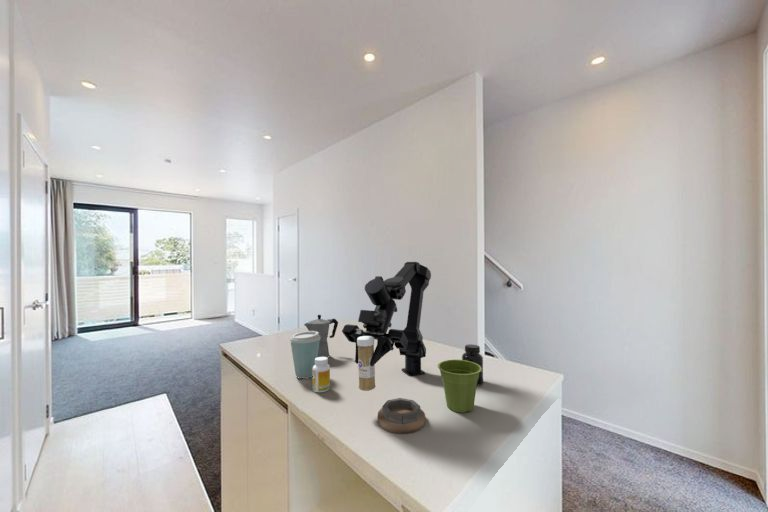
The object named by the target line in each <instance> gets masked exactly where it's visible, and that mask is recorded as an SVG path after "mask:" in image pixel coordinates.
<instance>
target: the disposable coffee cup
mask: <svg viewBox="0 0 768 512" xmlns="http://www.w3.org/2000/svg"><path fill="white" fill-rule="evenodd" d="M320 339H321V338H320V336H319V332H317V331H309V330H307V331H301V332H297V333H294V334H292V336H290V337H289V342H290V346H291V347H290V348H291V353H292V360H293V366H294V373H295V376H297V377H299V378H298V379H300V378H306V379H310V378H309V377H311V378H313V377H312V376H313V366H314V365H316V364H315V358H317V357H318V349H319V342H320ZM297 377H296V378H297Z"/></svg>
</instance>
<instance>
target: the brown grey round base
mask: <svg viewBox="0 0 768 512" xmlns="http://www.w3.org/2000/svg"><path fill="white" fill-rule="evenodd" d="M377 424H378V426H380V427H381V428H382V429H383V430H384V431H387V432H390V433H392V434H399V435H400V434H401V435H402V434H412V433H415V432H419V431H420V430H421V429H422V428H424V427H425V424H426V413H425V412H424V410H423V409H421V405H419V404H418V403H417V402H416V401H415V400H413V399H410V398H409V399H408V398H405V397H404V398H403V397H398V398H393V399H388V400H386V402H384V404H383V405H382V407H381V408H380V409H379V410H378V412H377Z"/></svg>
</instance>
